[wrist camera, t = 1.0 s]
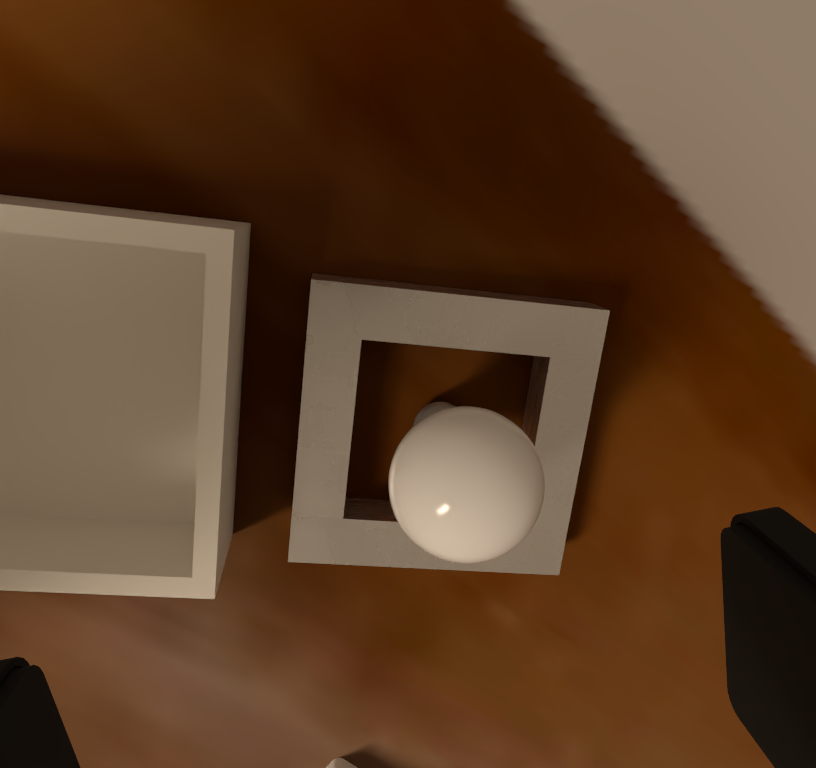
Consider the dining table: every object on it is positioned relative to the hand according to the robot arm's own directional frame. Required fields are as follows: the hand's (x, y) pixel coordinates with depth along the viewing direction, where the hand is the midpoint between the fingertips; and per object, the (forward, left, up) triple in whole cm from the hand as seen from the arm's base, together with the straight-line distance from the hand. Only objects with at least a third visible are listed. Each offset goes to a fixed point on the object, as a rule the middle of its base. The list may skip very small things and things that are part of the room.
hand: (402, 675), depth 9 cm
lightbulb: (-5, -5, -26) cm, 27 cm away
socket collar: (-5, -5, -26) cm, 27 cm away
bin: (-4, +13, -26) cm, 29 cm away
